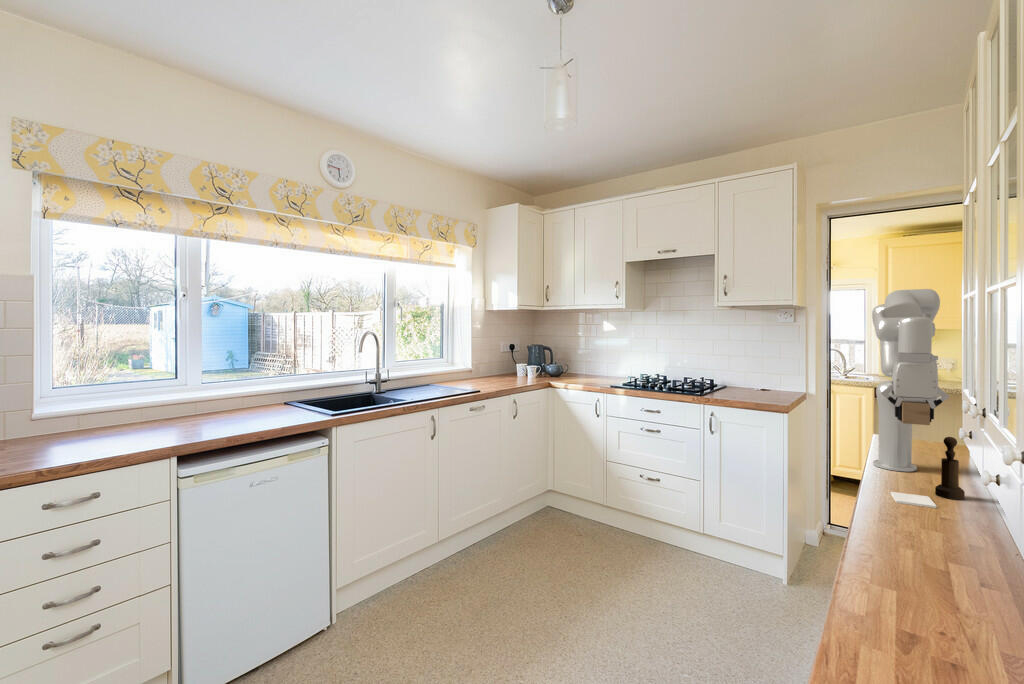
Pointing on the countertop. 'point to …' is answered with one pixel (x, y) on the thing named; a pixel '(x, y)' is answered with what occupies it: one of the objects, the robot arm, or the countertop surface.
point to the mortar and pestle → (950, 474)
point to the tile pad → (913, 499)
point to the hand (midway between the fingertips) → (913, 420)
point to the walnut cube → (915, 413)
